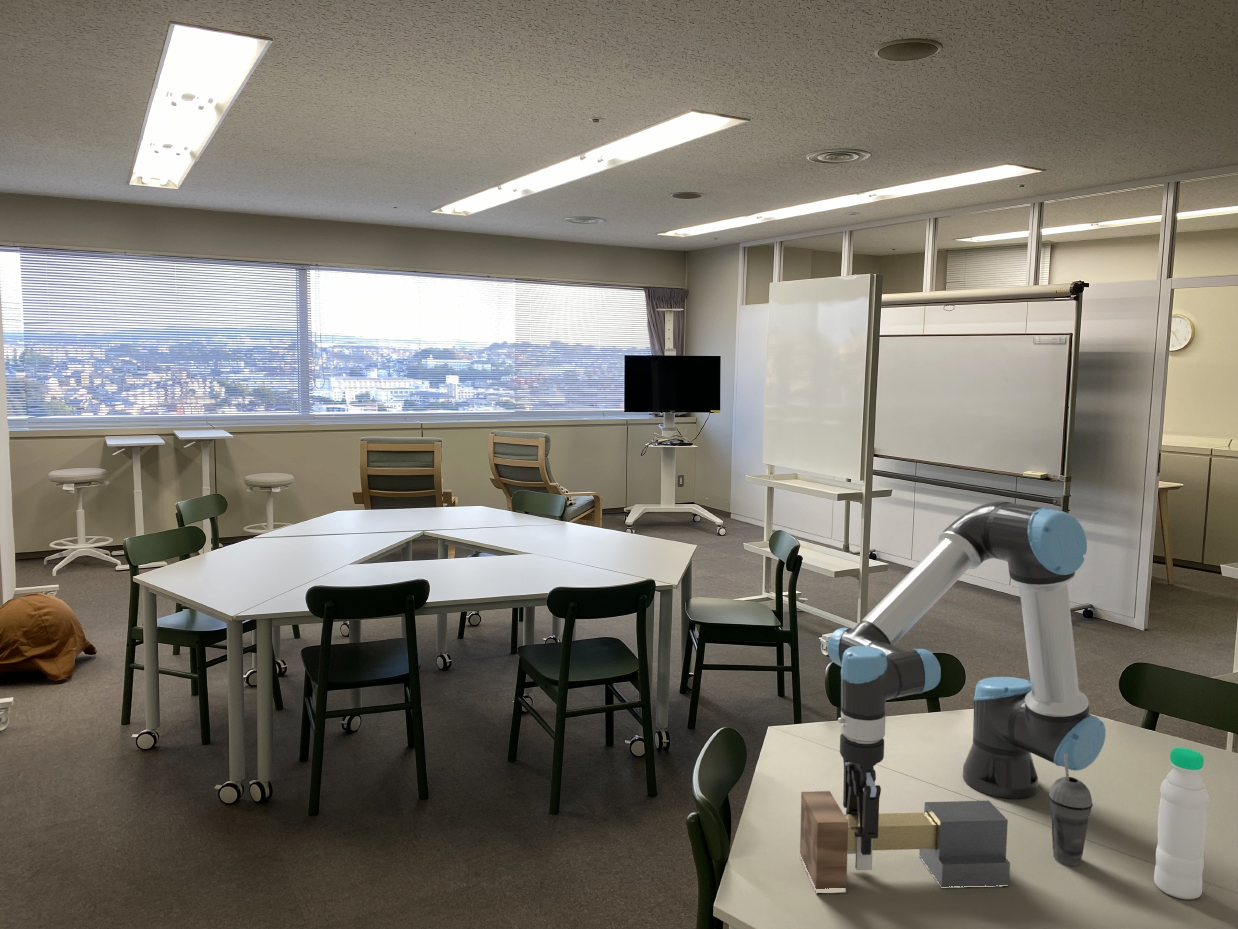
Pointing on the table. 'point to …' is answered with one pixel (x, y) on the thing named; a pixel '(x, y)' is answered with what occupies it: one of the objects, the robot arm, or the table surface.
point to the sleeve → (968, 844)
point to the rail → (898, 831)
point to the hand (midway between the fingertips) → (858, 860)
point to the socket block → (824, 839)
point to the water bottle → (1182, 827)
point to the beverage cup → (1069, 817)
